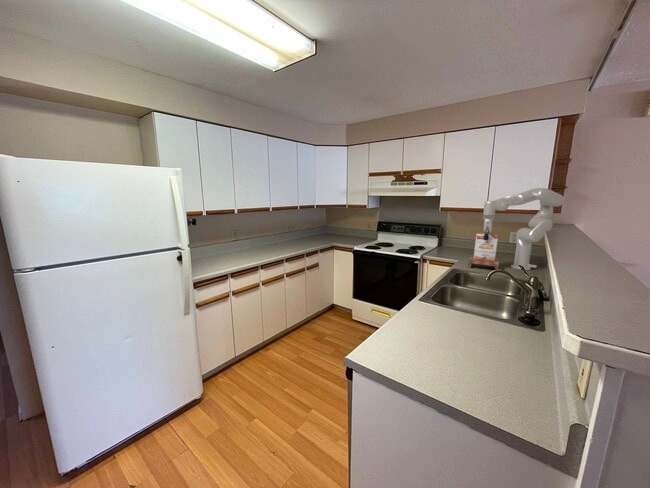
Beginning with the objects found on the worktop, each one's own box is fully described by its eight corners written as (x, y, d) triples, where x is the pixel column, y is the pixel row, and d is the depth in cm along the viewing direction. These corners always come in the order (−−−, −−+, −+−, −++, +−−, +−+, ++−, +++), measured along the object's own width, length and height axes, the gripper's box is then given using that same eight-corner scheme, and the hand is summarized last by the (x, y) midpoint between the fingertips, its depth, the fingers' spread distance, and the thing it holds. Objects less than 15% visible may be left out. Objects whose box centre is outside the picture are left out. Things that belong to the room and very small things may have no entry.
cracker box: (474, 260, 208) (477, 234, 204) (473, 258, 214) (476, 233, 210) (495, 262, 203) (498, 235, 199) (493, 260, 208) (496, 234, 205)
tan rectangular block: (497, 267, 210) (498, 260, 209) (497, 271, 198) (498, 264, 197) (469, 263, 221) (470, 256, 220) (467, 267, 209) (468, 260, 208)
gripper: (494, 218, 193) (491, 241, 196) (494, 216, 207) (492, 238, 210) (482, 217, 197) (479, 240, 200) (483, 216, 211) (481, 237, 214)
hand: (486, 239), depth 205 cm, fingers open, 9 cm apart
